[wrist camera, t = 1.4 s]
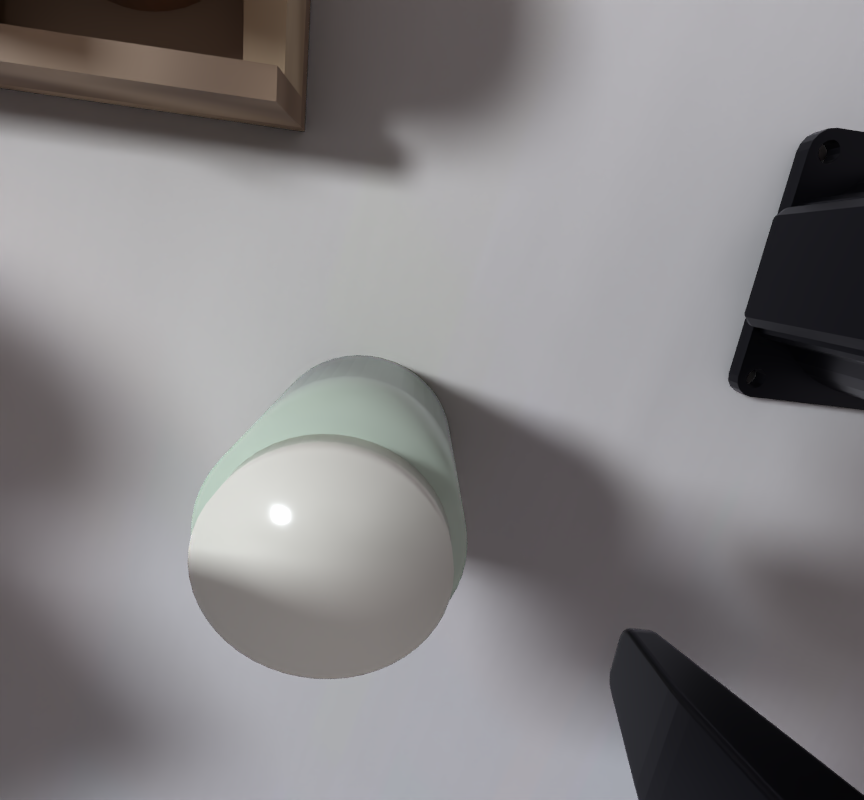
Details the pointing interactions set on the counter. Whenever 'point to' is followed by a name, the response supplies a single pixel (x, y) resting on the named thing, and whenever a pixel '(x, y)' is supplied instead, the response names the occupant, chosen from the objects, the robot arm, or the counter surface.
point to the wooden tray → (164, 56)
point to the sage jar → (333, 524)
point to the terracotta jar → (154, 4)
